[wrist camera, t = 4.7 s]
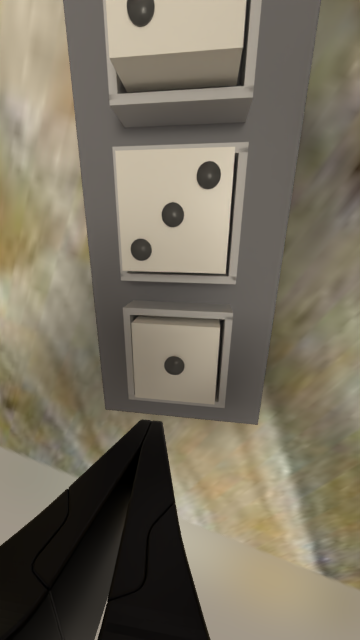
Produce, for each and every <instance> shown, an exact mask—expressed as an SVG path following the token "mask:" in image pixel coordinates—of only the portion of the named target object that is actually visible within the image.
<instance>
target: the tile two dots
mask: <svg viewBox="0 0 360 640" xmlns="http://www.w3.org/2000/svg"><path fill="white" fill-rule="evenodd" d="M106 12H107V28H108V44H109V58H110V60H111V62H112V64H113V66H114V68H115V70H116V72H117V74H118V76H119V78H120V79H121V81H122V83H123V85H124V87H125V89H126V91H127V92H142V91H158V90H174V89H190V88H206V87H221V86H236V85H237V79H238V73H239V67H240V61H241V55H242V49H243V39H244V25H245V12H246V0H106Z"/></svg>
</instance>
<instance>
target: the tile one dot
mask: <svg viewBox="0 0 360 640" xmlns="http://www.w3.org/2000/svg"><path fill="white" fill-rule="evenodd" d="M131 326H132V344H133V363H134V382H135V397H138V398H148V399H159V400H170V401H181V402H192V403H202V404H213V405H214V404H215V391H216V377H217V364H218V351H219V337H220V323H219V319H208V318H188V317H168V316H148V315H139V316H138V317H137V318H136V319H135V320H134V321H133V322H132V323H131Z"/></svg>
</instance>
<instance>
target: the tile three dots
mask: <svg viewBox="0 0 360 640" xmlns="http://www.w3.org/2000/svg"><path fill="white" fill-rule="evenodd" d="M115 157H116V173H117V189H118V206H119V222H120V238H121V254H122V270H123V271H149V272H184V273H219V274H226V261H227V248H228V235H229V222H230V209H231V196H232V183H233V170H234V157H235V147H211V148H181V149H151V150H121V151H115Z"/></svg>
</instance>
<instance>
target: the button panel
mask: <svg viewBox="0 0 360 640" xmlns="http://www.w3.org/2000/svg"><path fill="white" fill-rule="evenodd" d="M63 4H64V13H65V23H66V32H67V42H68V52H69V61H70V71H71V81H72V90H73V100H74V110H75V119H76V129H77V139H78V148H79V158H80V167H81V177H82V187H83V196H84V206H85V216H86V225H87V235H88V245H89V254H90V264H91V274H92V283H93V293H94V303H95V312H96V322H97V331H98V341H99V351H100V360H101V370H102V380H103V389H104V399H105V409H106V410H116V411H126V412H135V413H145V414H155V415H165V416H175V417H185V418H195V419H205V420H215V421H225V422H235V423H245V424H255V425H258V419H259V412H260V405H261V399H262V392H263V385H264V378H265V372H266V365H267V358H268V352H269V345H270V338H271V332H272V325H273V318H274V312H275V305H276V298H277V292H278V285H279V278H280V271H281V265H282V258H283V251H284V245H285V238H286V231H287V225H288V218H289V211H290V205H291V198H292V191H293V185H294V178H295V171H296V165H297V158H298V151H299V144H300V138H301V131H302V124H303V118H304V111H305V104H306V98H307V91H308V84H309V78H310V71H311V64H312V58H313V51H314V44H315V37H316V31H317V24H318V17H319V11H320V4H321V0H246V12H245V25H244V39H243V49H242V55H241V61H240V67H239V73H238V79H237V85H236V86H221V87H206V88H190V89H174V90H158V91H142V92H127V91H126V89H125V87H124V85H123V83H122V81H121V79H120V78H119V76H118V74H117V72H116V70H115V68H114V66H113V64H112V62H111V60H110V58H109V44H108V28H107V12H106V0H63ZM211 147H235V157H234V170H233V183H232V196H231V209H230V222H229V235H228V248H227V261H226V274H219V273H184V272H149V271H123V270H122V254H121V238H120V222H119V206H118V189H117V173H116V157H115V151H121V150H151V149H181V148H211ZM139 315H148V316H168V317H188V318H208V319H219V323H220V337H219V351H218V364H217V377H216V391H215V404H214V405H213V404H202V403H192V402H181V401H170V400H159V399H148V398H138V397H135V382H134V363H133V344H132V326H131V323H132V322H133V321H134V320H135V319H136V318H137V317H138V316H139Z"/></svg>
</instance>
